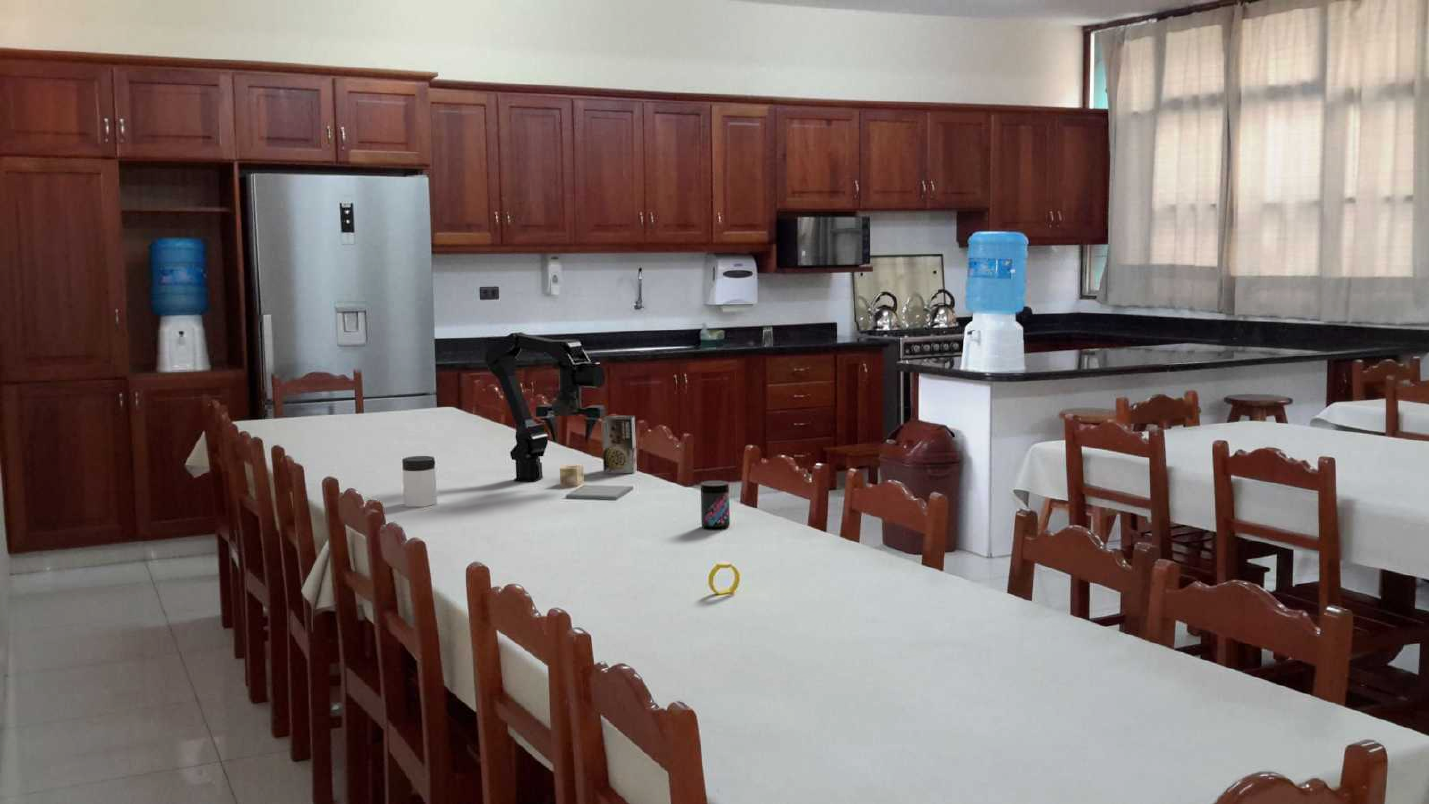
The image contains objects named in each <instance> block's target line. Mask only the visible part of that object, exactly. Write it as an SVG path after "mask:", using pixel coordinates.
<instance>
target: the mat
mask: <svg viewBox="0 0 1429 804" xmlns="http://www.w3.org/2000/svg"><path fill="white" fill-rule="evenodd" d="M633 490H634V486H627V485H626V486H625V485H599V484H598V485H597V484H593V485H592V484H584V485H583V484H582V486H581V485H580V486H579V487H578V488H576V489H574V490H573V491H572V490H571V491H570V492H569V493H567V494H566V495H565V499H576V500H577V499H581V500H588V499H589V500H610V501H617V500H619V499H620V498H622V497H623V496H626V494H628V493H630V492H631V491H633Z"/></svg>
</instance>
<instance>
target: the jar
mask: <svg viewBox="0 0 1429 804" xmlns="http://www.w3.org/2000/svg"><path fill="white" fill-rule="evenodd" d="M401 461H402V463H401V464H402V465H401V466H402V468H401V469H402V484H403V485H402V487H403V488H402V489H403V491H402V492H403V503H404V506H405V507H407V508H425V507H430V506H435V505H437V504H438V498H437V496H438V495H437V476H436V475H437V474H436V468H435V467H436V461H435V457H434V456H430V455H415V456H408V457H404V458H402V460H401Z"/></svg>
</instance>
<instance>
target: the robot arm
mask: <svg viewBox="0 0 1429 804" xmlns="http://www.w3.org/2000/svg"><path fill="white" fill-rule="evenodd" d="M522 350H528V351H531V352H536V353H540V354H546V355H548V356H549V357H551V358H552V359H554V360H556V363H555V364H553V366H552V367H551V369H552V370H558V382H559V383H558V385H559V386H558V390H557V397H556V398H555V400H553V402H552V404H549V403H548V404H546V403H544V404H543V403H542V404H539V405H537V406H536V407H535V410H534V417H536V418H537V417H538V418H539V420H540V421H544V423H545V424H546V425H547V428H548V430H549V431H550V436H551V437H552V440H553V442H555V443H556V442H557V440H558V417H559V416H561V417H562V416H563V417H570V416H571V415H573V416H574V415H575V416H577V415H581V416H583V415H584V416H585V417H587V418H584V423H585V435H584V437H585V443H586V444H588V443H589V442H590V438H591V435H592V433H593V431H594V428H595V426H596V423H597V422H598V421H599V420H600V419H601V420H602V417H603V418H604V417H605V416H607V415H606V414H607V411H606V407H605V406H604V405H592V404H591V405H589V406H587V407H583V403H581V402H582V401H581V394H582V391H583V390H582V388H591V389H592V388H595V389H600V388H602V387H603V386H604V384H605V382H606V374H605V370H604V369H603V368H602V367H601V362H592V361H591V359H590V358H589V356H588V355H587V353H586V352H585V349H584V348H583V345H582V344H581V341H580V340H578V339H550V338H546V337H543V336H536V335H532V334H528V333H527V334H526V333H524V332H511V333H510V334H508V335H507V336H506V337H505V338H504V339H502V340H501V341H499V342H497V343H496V344H495V345H493V346H492V347H490V348H488V349H487V350H486V351H485V354H484V356H483V359H484V363H485V365H486V367H487V368H488V370H489V372H490V373H491V374H492V375H493V376H494V377H495V378H496V379H497V380H498V382H499V384H500V386H501V390H502V392H503V394H504V397H505V399H506V403H507V405H508V407H509V411H510V412H511V415H512V419H513V420H514V424H515V426H516V428H515V429H516V430H515V442H516V445H515V446H514V447H513V448H512V449H511V451H510V452H509V454H510V458H511V460H514V461H515V478H513V481H514V482H537V481H539V480H541V479H543V478H544V475H543V463H542V462H541V457H544V455H545V452H546V448H547V446H548V444H549V441H548V437H549V435H548V433H546V430H545V426H544V424H543V423H538V424H537V422H535V421H534V419H533V417H532V414H531V411H530V409H529V406H528V403H527V400H526V397H525V396H524V393H523V390H522V388H521V385H520V382H519V379H518V377H517V374H516V371H517V365H518V364H517V357H518V356H519V354H521V352H522Z"/></svg>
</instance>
